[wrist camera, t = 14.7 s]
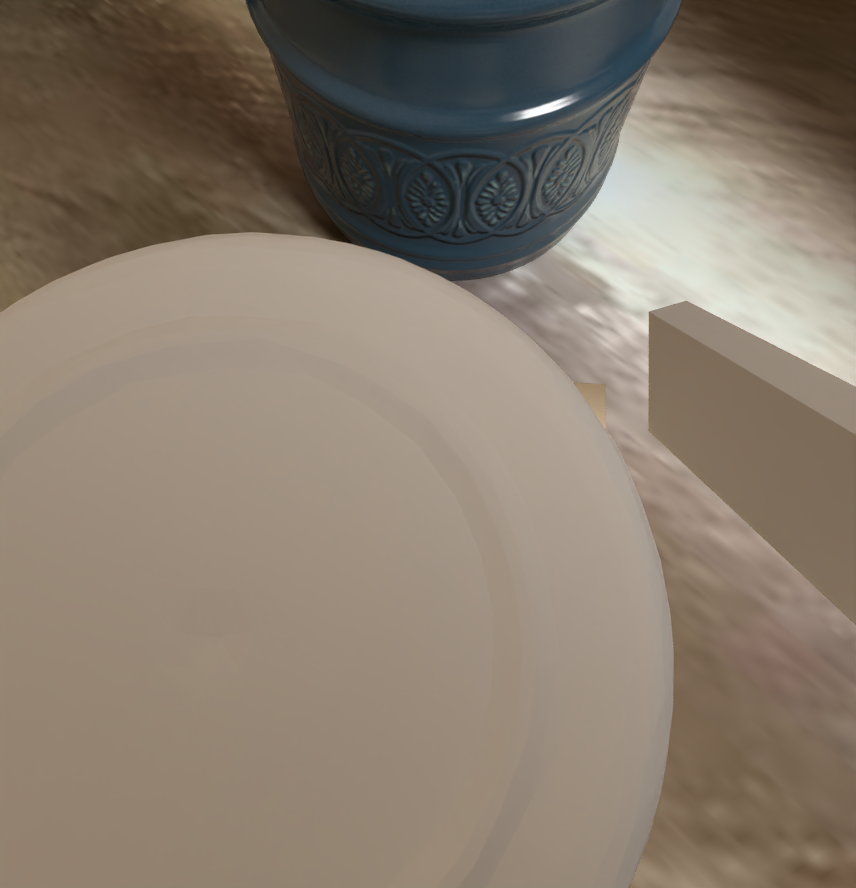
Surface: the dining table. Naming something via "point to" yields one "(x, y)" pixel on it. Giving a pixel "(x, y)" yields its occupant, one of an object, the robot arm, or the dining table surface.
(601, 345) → the dining table surface
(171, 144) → the dining table surface
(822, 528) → the robot arm
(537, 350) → the sprinkles bottle
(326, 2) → the canister
